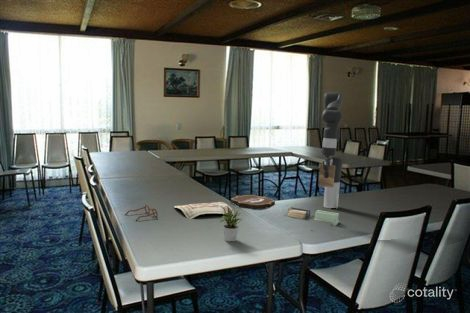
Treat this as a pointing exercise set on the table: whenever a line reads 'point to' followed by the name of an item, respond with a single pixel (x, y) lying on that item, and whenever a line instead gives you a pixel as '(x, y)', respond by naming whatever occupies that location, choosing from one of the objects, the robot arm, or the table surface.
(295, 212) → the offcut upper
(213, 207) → the poster
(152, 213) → the glasses
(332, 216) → the slotted stand
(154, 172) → the table surface
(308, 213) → the offcut rack
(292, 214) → the offcut lower
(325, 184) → the walnut sheet
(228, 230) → the house plant
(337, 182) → the robot arm
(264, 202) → the decorative plaque
